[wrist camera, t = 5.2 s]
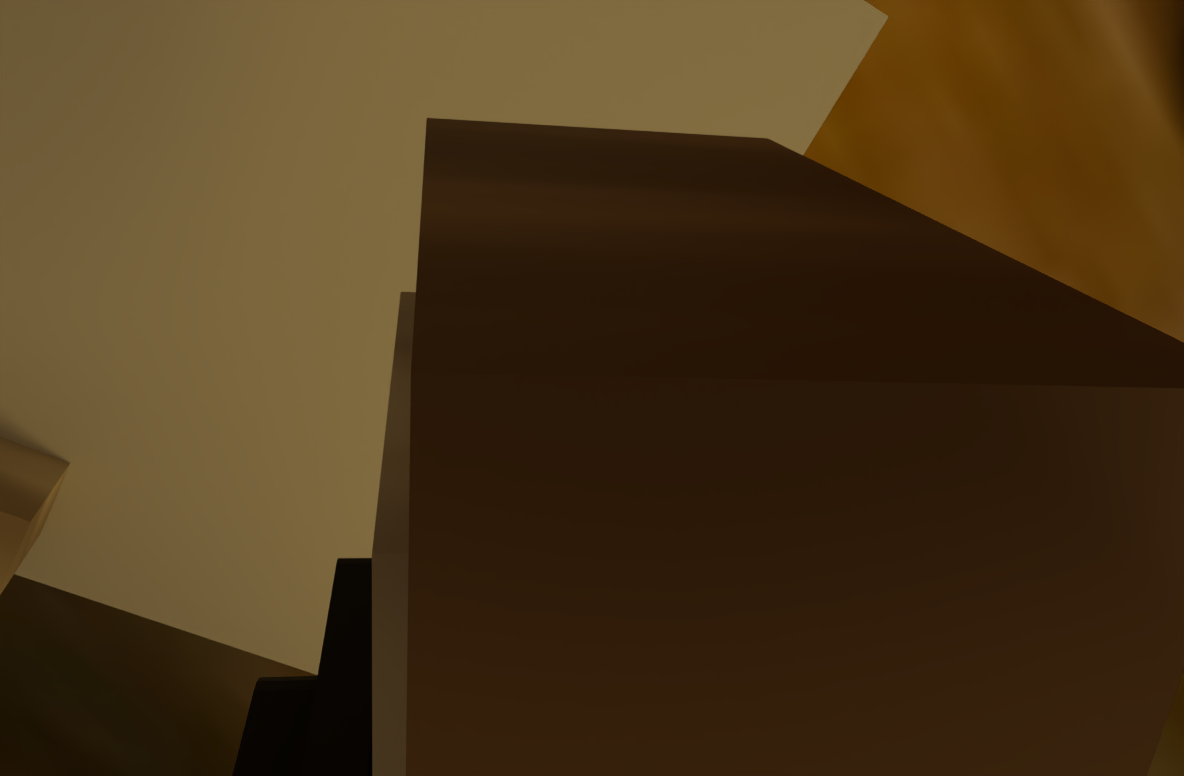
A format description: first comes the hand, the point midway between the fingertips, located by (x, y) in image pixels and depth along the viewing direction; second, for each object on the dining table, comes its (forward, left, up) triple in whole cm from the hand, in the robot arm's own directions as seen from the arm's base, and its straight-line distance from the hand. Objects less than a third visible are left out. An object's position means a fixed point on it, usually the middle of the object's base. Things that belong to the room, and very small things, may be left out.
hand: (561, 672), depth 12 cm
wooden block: (0, 0, -1) cm, 1 cm away
